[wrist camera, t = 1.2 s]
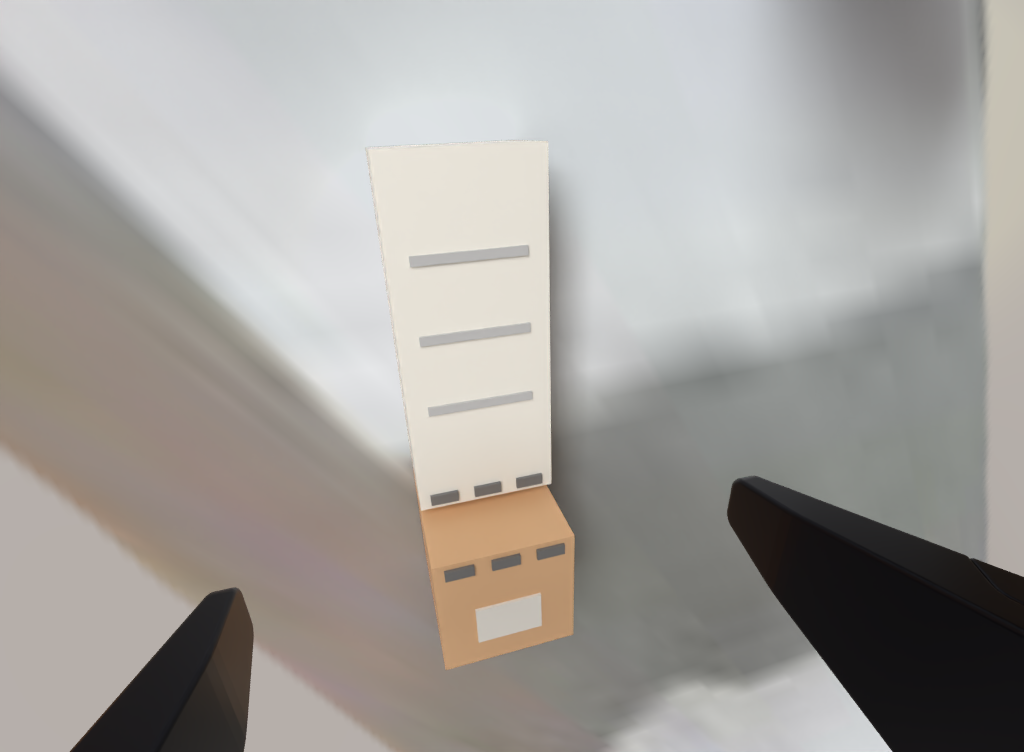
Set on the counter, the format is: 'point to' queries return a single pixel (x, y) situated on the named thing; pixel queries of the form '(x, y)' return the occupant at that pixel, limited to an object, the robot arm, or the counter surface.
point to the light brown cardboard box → (499, 573)
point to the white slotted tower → (469, 311)
